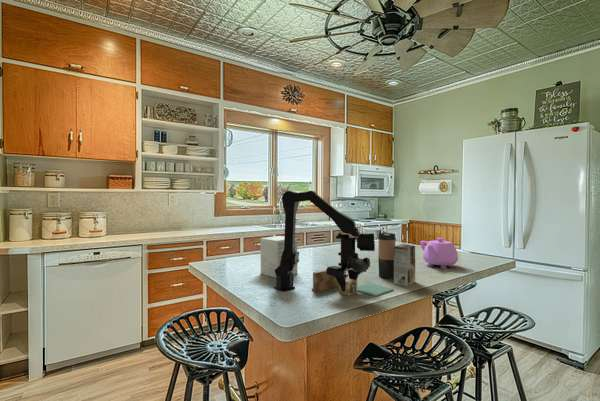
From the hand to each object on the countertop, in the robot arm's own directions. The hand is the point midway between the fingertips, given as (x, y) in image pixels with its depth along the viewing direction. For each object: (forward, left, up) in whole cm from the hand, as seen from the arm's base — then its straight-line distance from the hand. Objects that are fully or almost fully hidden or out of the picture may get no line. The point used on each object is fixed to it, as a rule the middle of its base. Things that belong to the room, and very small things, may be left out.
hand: (347, 290), depth 124 cm
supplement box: (-2, +42, -1) cm, 42 cm away
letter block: (0, 0, -1) cm, 1 cm away
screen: (0, +10, -1) cm, 10 cm away
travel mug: (+32, +4, -1) cm, 32 cm away
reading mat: (+10, -4, -1) cm, 11 cm away
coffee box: (+29, -7, -1) cm, 30 cm away
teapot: (+71, 0, -1) cm, 71 cm away
